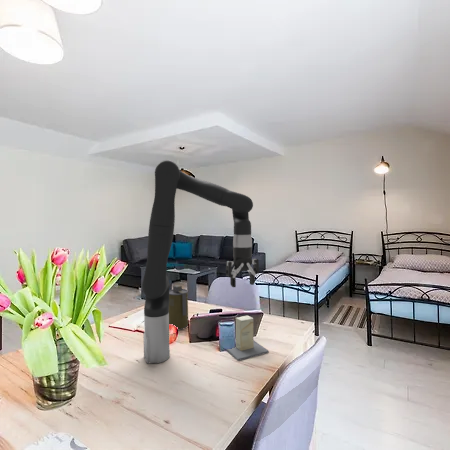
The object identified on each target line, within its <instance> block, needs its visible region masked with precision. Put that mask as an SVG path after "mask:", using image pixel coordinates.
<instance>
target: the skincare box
mask: <svg viewBox="0 0 450 450" xmlns="http://www.w3.org/2000/svg"><path fill="white" fill-rule="evenodd" d="M253 340H254V317H252V316H249V315H243V316H238V317H235V341H236V347H237V348H238V349H239V350H241V351H243V350H247V349H251V348H253V347H254V341H255V340H254V341H253Z"/></svg>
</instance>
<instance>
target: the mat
mask: <svg viewBox="0 0 450 450" xmlns="http://www.w3.org/2000/svg"><path fill="white" fill-rule="evenodd" d="M253 341H254V347H253V348H251V349H247V350H243V351H241V350H239V349H238V348H237V347H235V348H232V349H227V351H226V352H227V353H228V354H229V355H230V356H232V357H233V358H234V359H235V360H236V361H237V362H239V361H243V360H247V359H250V358H255V357H257V356H261V355H265V354H269V353H270V351H269V350H268V349H267V348H266V347H264V346H262V345H261V344H260V343H258V342H257V341H256V340H254V339H253Z"/></svg>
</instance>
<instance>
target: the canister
mask: <svg viewBox="0 0 450 450" xmlns="http://www.w3.org/2000/svg"><path fill="white" fill-rule="evenodd" d="M188 293H189V290H188V289H185V288H183V286H182V285H179V284H175V285H172V289H169V324H173V325H175V326H176V327H178V329H181V330H184V329H183V328H185V329H187V328H188V327H189V326H188V324H189V298H188V297H189V295H188ZM187 326H188V327H187ZM186 327H187V328H186Z"/></svg>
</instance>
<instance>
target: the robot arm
mask: <svg viewBox="0 0 450 450" xmlns="http://www.w3.org/2000/svg"><path fill="white" fill-rule="evenodd" d="M154 178H155V179H154V200H153V203H152V207H151V211H150V217H149V218H150V219H149V225H148V236H147V256H146V258H147V259H146V265H145V271H144V274H143V279H142V283H141V288H142V292H143V294H144V295H145V299H144V308H143V315H144V316H143V317H144V320H143V321H144V332H143V334H142V335H143V358H144V360H145V362H146V364H158V363H163V362H166V361H167V360H168V359H170V355H171V354H170V351H171V350H170V329H169V290H170V279H169V277H168V275H167V265H168V259H169V256H170V252H171V248H172V245H173V239H174V233H175V232H174V231H175V224H176V223H175V221H176V219H175V218H176V217H175V216H176V214H175V213H176V212H175V203H176V202H175V199H176V193H177V190H180V191H181V190H182V191H184V192H187V193H189V194H192V195H195V196H197V197H199V198H202V199H204V200H206V201H209V202H211V203H214V204H216V205H218V206H221V207H227V208H229V209H230V210H231V211H232V219H233V239H232V240H233V241H232V249H233V252H232V253H233V254H232V256H233V259H232V261H231V260H230V261H229V260H227V261H226V263H225V276H226V277H228V278H229V279H230V282H229V283H230V284H229V285H230V286H231V287H232V288H236V285H237V281H236V280H237V279H236V277H237V274H239V272H244V271H245V272H248V273H249V285H252V286H254V284H255V282H256V275H257V274H259V273H260V265H259V264H260V262H259V261H260V260H259V259H257V258H252V257H253V256H252V255H253V240H252V238H253V237H252V222H251V221H250V217H249V213H250V211H252V210H253V208H254V202H253V200H252V199H251V198H250V197H249V196H248V195H246V194H243V193H240V192H236V191H232V190H230V189H228V188H226V187H223V186H221V185H219V184H216V183H214V182H211V181H207V180H203V179H200V178H196V177H193V176H191V175H189V174H187V173H185V172H183V171H182V170H180V168H179V166H178V165H177V164H176V163H175V162H174V161H172V160H170V159H165V160H162V161H160V162H159V163H158V164H157V165H156V167H155V169H154ZM252 266H253V267H252ZM232 267H233V268H232Z"/></svg>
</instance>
